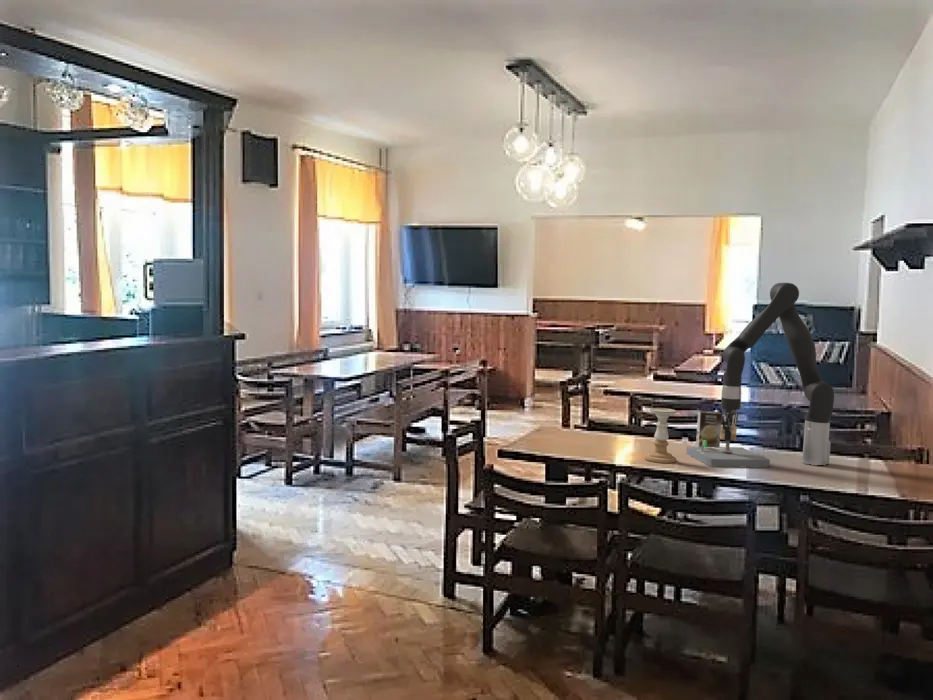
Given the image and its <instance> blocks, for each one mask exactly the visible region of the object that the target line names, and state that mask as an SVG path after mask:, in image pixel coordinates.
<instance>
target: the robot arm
mask: <svg viewBox="0 0 933 700" xmlns="http://www.w3.org/2000/svg"><path fill="white" fill-rule="evenodd" d="M799 296H800V290H799V288H798V287H797V285H796V284H794V283H792V282H776V283H775V284H773V286H772V287H771V288H770V292H769V297H770V302H769V304H768V305H767V306H766V307H765V309H763V310H762V311H761V312H760V313H759V314H757V316H756V317H754V318H753V319H752V320H751V321H750V322H749V323H748V324H747V325H746V327H744V329H743V330H741V332H740V334H739V335H738V336H737V337H736V338H735V339H734V340H733V341H731V342H730V343H729V344H728V345H727V346H726V347H725V349H723V352H722V357H721V358H722V360H723V361H724V363H726V370H725V371H724V372H723V375H722V388H721V396H720V397H721V399H720V400H721V402H720V408H721V409H723V410H725V411H724V414H723V415H722V420H721V425H723V430H724V431H725V440H724V441H726V440H728V441H729V440H730V441H732V440H731V428H732V426H737V425H738V419H739V413H737V410H741V404H742V375H743V372H744V368H745V362H746V357H745V356H746V355H745V352H746V351H747V350H749V349H751V348H753V347H754V346H755V345H756V344H757V343H758V342H759V340H760V339H761V338H762V337H763V335H765V333H766V332H767V331H768V329H769V328H771V326H772V325H773V324H774V323H775V321H777V319H778V318H779V320H780V322H781V326H782V329H783V333H784V335H785V338H786V340H787V344H788V347H789V350H790V353H791V355H792V357H793V360H794V364H795V365H796V368H797V370H798V373H799V376H800V381H801V385H802V390H803V394H804V396H805V397H806V399H807V400H808V401H809V408H808V411H807V412H806V413H805V415H804V430H803V431H804V432H803V445H802V446H803V447H802V456H801V457H802V461H801V462H802V463H803V464H805V465H809V464H811V465H810V466H817V465H824V466H827V465H826V464H829V465H830V457H831V441H830V439H829V438H830V427H831V426H830V425H831V417H832V415H833V414H834V413H833V412H834V411H833V410H834V405H835V404H834V402H835V390H834V388H833V387H832V385H831V384H829V383H827V382H824V380H823V379H822V377H821V374H820V372H819V369H818V366H817V365H818V364H817V350H816V345H815V342H814V339H813V337H812V334H811V332H810V330H809V328H808V327H807V325H806V323H805V322H804V321H803V319H802V317H801V316H800V315H799V313H798V311H797V310H798V309H797V307H796V305H795V303H796V302H798V299H799ZM727 426H728V427H727Z"/></svg>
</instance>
